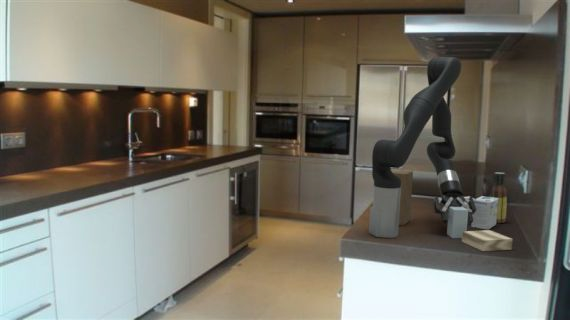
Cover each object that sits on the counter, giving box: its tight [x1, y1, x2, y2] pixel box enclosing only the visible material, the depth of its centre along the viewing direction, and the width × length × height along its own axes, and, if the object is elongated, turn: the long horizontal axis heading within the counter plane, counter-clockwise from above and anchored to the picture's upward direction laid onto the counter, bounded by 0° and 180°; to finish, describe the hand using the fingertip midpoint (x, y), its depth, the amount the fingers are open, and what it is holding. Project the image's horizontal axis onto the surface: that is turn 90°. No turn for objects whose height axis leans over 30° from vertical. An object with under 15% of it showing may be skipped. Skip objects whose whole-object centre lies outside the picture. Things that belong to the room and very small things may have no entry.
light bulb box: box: [470, 195, 498, 230], centre depth 189 cm, size 11×7×11 cm, turn 142°
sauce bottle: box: [489, 171, 508, 224], centre depth 196 cm, size 7×6×20 cm
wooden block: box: [391, 168, 414, 227], centre depth 191 cm, size 10×10×20 cm
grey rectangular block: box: [446, 207, 468, 239], centre depth 173 cm, size 5×5×10 cm
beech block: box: [461, 229, 514, 252], centre depth 163 cm, size 11×11×4 cm
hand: (458, 223), depth 172 cm, fingers open, 8 cm apart
